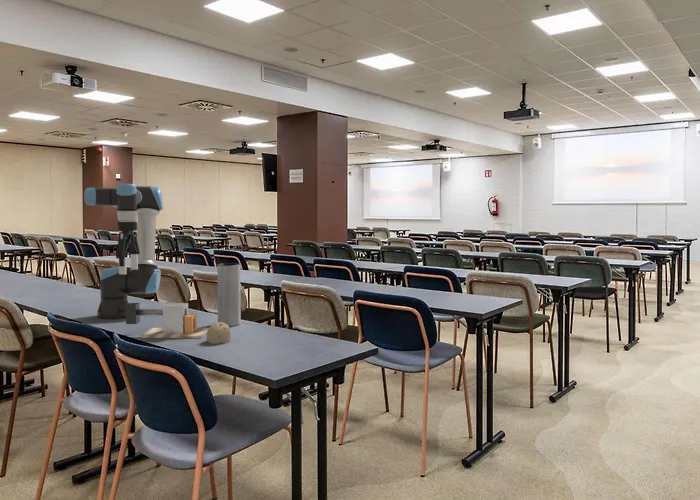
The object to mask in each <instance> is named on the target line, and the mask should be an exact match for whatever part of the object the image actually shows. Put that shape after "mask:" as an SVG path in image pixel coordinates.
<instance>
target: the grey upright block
mask: <svg viewBox="0 0 700 500" xmlns="http://www.w3.org/2000/svg"><path fill="white" fill-rule="evenodd" d="M162 309H163V315H162V328H163V334H184V333H185V319H184V317H185V316H186V315H187V314H189V302H168V303H166V304H164V305H163V306H162Z"/></svg>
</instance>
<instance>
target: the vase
mask: <svg viewBox="0 0 700 500" xmlns="http://www.w3.org/2000/svg"><path fill="white" fill-rule="evenodd" d="M216 266H217V267H216V268H217V273H216V275H217V323H219V322H224V323H226V324H227V325H228V326H229V327H235V326H239V325H241V321H242V319H241V315H242V312H241V264H240V263H234V262H233V263H232V262H231V263H227V262H226V263H225V262H224V263H218V264H217V265H216Z"/></svg>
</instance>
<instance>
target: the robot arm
mask: <svg viewBox="0 0 700 500" xmlns="http://www.w3.org/2000/svg"><path fill="white" fill-rule="evenodd" d="M83 195H84V203H85V205H87V206H93V207H96V206H97V207H98V206H99V207H101V206H102V207H103V206H105V207H106V206H107V207H108V206H109V207H110V206H111V207H112V208H116V209H117V212H116V216H117V220H118V222H117V230H118V231H119V232H121V233H119V234H118V241H117V249H116V253H115V254H116V255H115V259H118V266H116V267H115V266H114V267H109V268H104V269H102V270H101V271H100V277H99V281H100V284H99V285H100V302H99V305H98V309H97V311H96V317H97V318H99V319H108V320H110V319H122V318H126V304H128V303H129V300H128V295H129V294H130V295H131V294H138V295H139V294H146V295H148V294H155V293H157V292H158V290H159V287H160V284H161V283H160V282H161V278H162V277H161V276H162V275H161V274H162V271H161V269H160V268H158V265H157V263H156V262H155V257H156V256H155V254H156V253H155V252H156V233H157V232H156V230H157V216H159V215H160V211H162V210H164V202H163V196H162V195H163V194H162V191H161V189H160V187H159V186H151V185H149V186H148V185H147V186H145V185H144V186H141V185H136V184H135V183H117V185H116V187H112V188H109V187H88V188H87V187H86V188H85V190H84V194H83ZM128 247H129V250H130V253H131V254H130V269H128V268H127V257H126V255H127V250H128Z"/></svg>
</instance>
